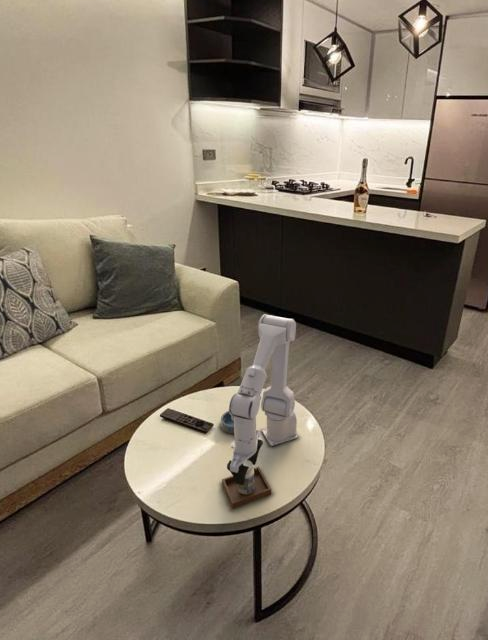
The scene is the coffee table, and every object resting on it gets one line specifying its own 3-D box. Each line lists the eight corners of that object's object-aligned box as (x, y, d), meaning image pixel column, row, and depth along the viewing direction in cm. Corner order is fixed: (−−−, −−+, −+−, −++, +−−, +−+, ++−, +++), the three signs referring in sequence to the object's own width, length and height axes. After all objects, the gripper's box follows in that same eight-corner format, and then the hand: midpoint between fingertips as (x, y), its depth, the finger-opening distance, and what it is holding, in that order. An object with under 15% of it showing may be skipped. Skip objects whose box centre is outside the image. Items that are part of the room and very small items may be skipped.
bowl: (243, 413, 145) (243, 406, 144) (252, 429, 138) (252, 422, 136) (218, 420, 141) (217, 413, 140) (226, 437, 134) (225, 430, 132)
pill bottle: (251, 496, 112) (250, 473, 108) (235, 493, 112) (234, 470, 109) (256, 483, 116) (256, 460, 113) (240, 480, 117) (240, 457, 114)
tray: (258, 471, 121) (258, 466, 120) (271, 494, 113) (271, 489, 112) (222, 484, 116) (221, 479, 115) (232, 509, 108) (232, 503, 107)
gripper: (243, 414, 114) (244, 451, 120) (218, 448, 102) (220, 489, 107) (266, 419, 113) (266, 457, 118) (244, 455, 100) (245, 496, 105)
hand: (246, 473), depth 112 cm, fingers open, 7 cm apart
